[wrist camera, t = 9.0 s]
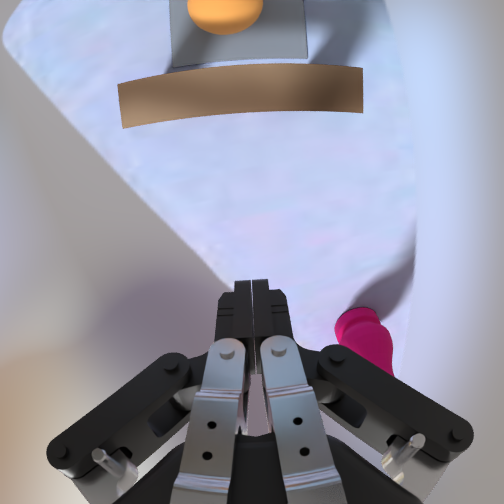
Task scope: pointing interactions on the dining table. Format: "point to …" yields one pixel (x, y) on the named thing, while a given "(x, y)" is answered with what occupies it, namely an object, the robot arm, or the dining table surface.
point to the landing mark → (240, 36)
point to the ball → (224, 14)
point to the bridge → (241, 91)
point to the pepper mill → (366, 337)
